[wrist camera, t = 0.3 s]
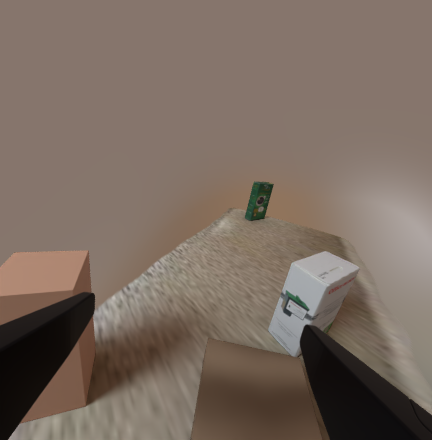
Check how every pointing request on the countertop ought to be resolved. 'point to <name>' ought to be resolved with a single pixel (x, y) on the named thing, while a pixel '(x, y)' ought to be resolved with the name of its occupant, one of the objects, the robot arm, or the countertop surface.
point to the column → (42, 297)
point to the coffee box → (258, 200)
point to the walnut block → (252, 396)
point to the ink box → (311, 297)
